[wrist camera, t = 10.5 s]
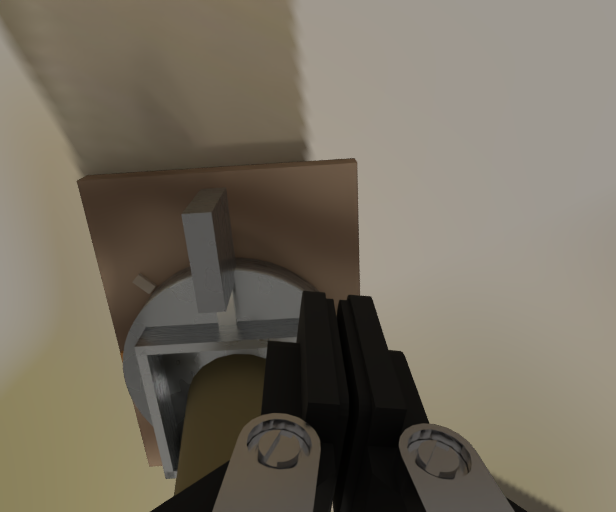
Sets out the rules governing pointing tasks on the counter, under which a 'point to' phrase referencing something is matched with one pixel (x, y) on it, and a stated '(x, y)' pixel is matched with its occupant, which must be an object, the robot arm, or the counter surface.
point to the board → (244, 223)
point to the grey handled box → (204, 319)
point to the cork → (218, 414)
